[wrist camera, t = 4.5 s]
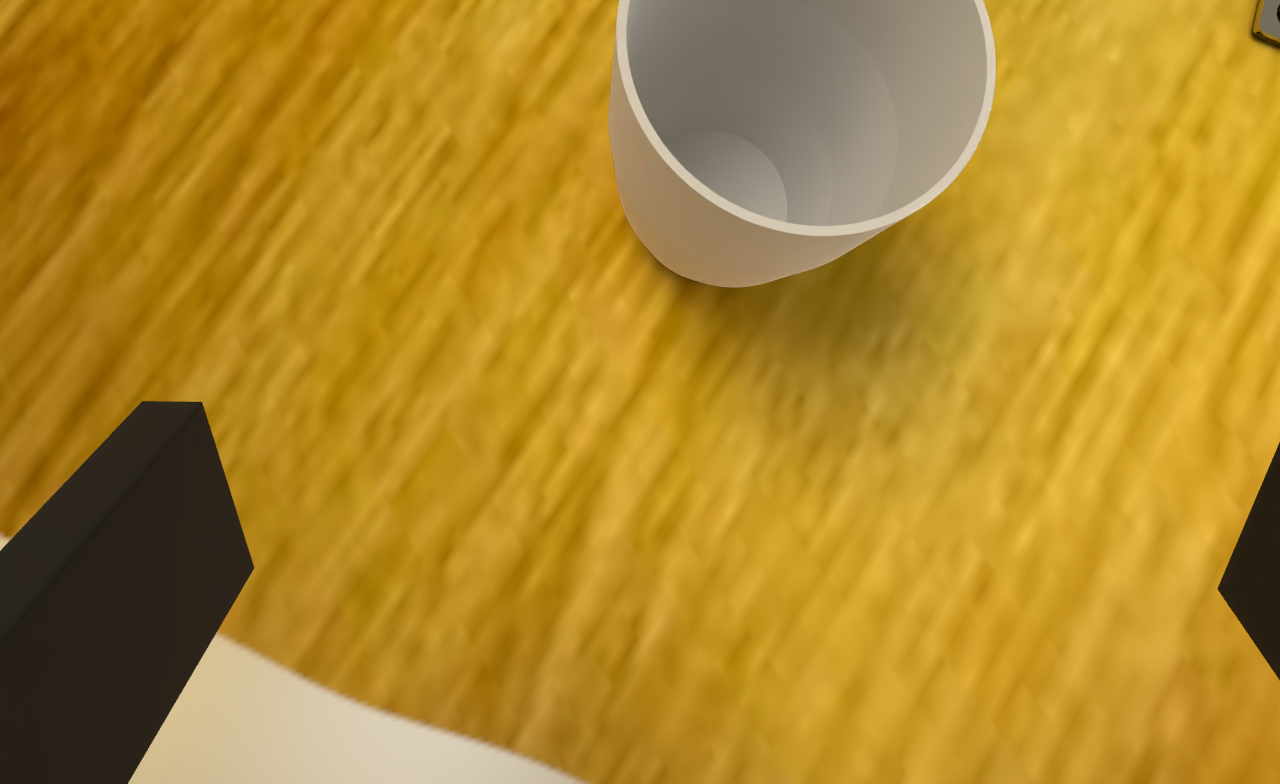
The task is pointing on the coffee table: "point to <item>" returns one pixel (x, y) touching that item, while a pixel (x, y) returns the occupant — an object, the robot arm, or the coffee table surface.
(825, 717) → the coffee table surface
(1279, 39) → the smartphone
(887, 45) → the cup
